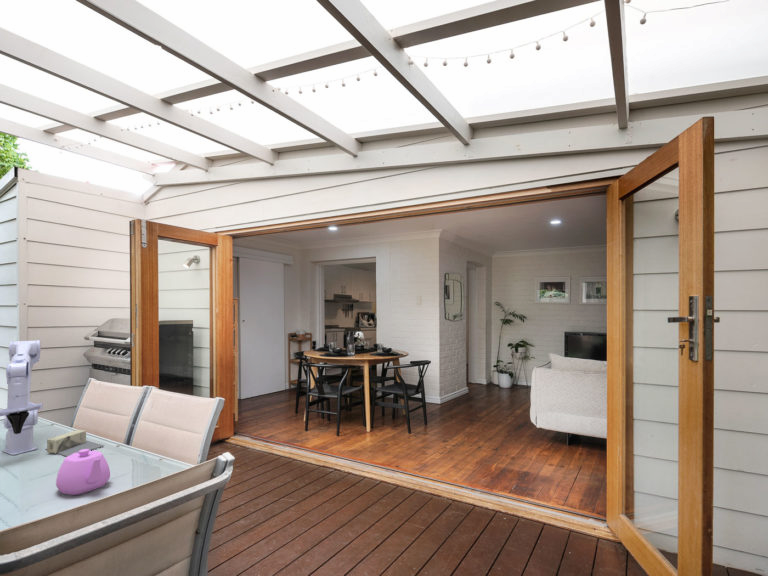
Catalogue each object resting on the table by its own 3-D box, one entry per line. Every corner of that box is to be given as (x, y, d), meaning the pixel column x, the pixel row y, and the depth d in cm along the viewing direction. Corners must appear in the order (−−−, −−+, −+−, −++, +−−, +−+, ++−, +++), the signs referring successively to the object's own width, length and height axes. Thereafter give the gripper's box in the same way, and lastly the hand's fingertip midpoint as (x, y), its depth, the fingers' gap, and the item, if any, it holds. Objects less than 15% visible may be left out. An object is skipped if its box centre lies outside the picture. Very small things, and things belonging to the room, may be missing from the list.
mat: (45, 450, 166) (45, 448, 166) (82, 440, 178) (82, 439, 178) (67, 457, 158) (67, 456, 158) (104, 446, 169) (104, 445, 169)
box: (55, 440, 161) (86, 429, 173) (46, 439, 162) (78, 428, 174) (55, 454, 161) (86, 442, 173) (46, 453, 162) (78, 441, 174)
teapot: (46, 489, 131) (46, 451, 132) (94, 474, 142) (95, 439, 143) (73, 506, 120) (74, 464, 120) (124, 488, 131) (124, 450, 131)
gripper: (-3, 400, 146) (-4, 440, 146) (46, 392, 159) (46, 429, 158) (-12, 398, 150) (-13, 437, 149) (37, 391, 162) (37, 427, 162)
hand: (17, 433), depth 154 cm, fingers closed
